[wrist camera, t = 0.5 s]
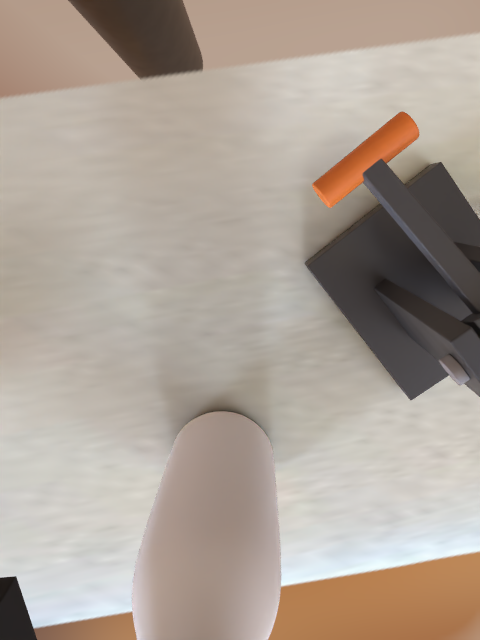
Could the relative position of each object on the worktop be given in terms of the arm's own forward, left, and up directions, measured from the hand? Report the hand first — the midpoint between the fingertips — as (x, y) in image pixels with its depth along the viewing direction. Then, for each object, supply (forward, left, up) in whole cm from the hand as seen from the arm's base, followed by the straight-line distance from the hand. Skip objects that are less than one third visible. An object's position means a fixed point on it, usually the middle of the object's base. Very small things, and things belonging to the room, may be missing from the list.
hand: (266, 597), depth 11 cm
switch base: (+1, +11, -20) cm, 23 cm away
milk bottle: (+6, -7, -20) cm, 22 cm away
